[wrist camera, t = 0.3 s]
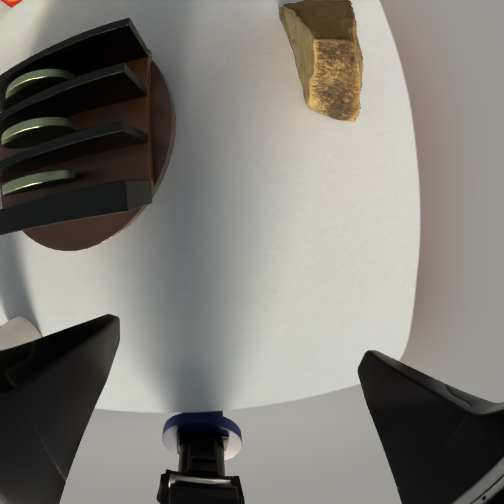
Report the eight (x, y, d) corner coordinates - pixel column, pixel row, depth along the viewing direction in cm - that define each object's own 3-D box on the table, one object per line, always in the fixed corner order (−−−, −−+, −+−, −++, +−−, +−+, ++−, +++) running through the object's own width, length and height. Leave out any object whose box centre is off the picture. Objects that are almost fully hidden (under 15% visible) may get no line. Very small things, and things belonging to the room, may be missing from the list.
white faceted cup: (0, 321, 20) (-31, 350, 14) (24, 302, 20) (-14, 333, 13) (32, 367, 22) (7, 401, 15) (59, 354, 22) (31, 394, 15)
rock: (251, -14, 13) (222, 72, 14) (343, -50, 7) (345, 32, 8) (325, 50, 21) (316, 131, 22) (404, 39, 15) (409, 130, 16)
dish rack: (156, 201, 18) (124, 213, 12) (11, 227, 17) (-37, 245, 10) (152, 53, 15) (127, 10, 9) (8, 106, 14) (-37, 96, 7)
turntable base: (155, 263, 21) (150, 269, 19) (1, 231, 18) (-8, 234, 17) (200, 47, 16) (198, 38, 15) (33, 58, 14) (25, 53, 12)
